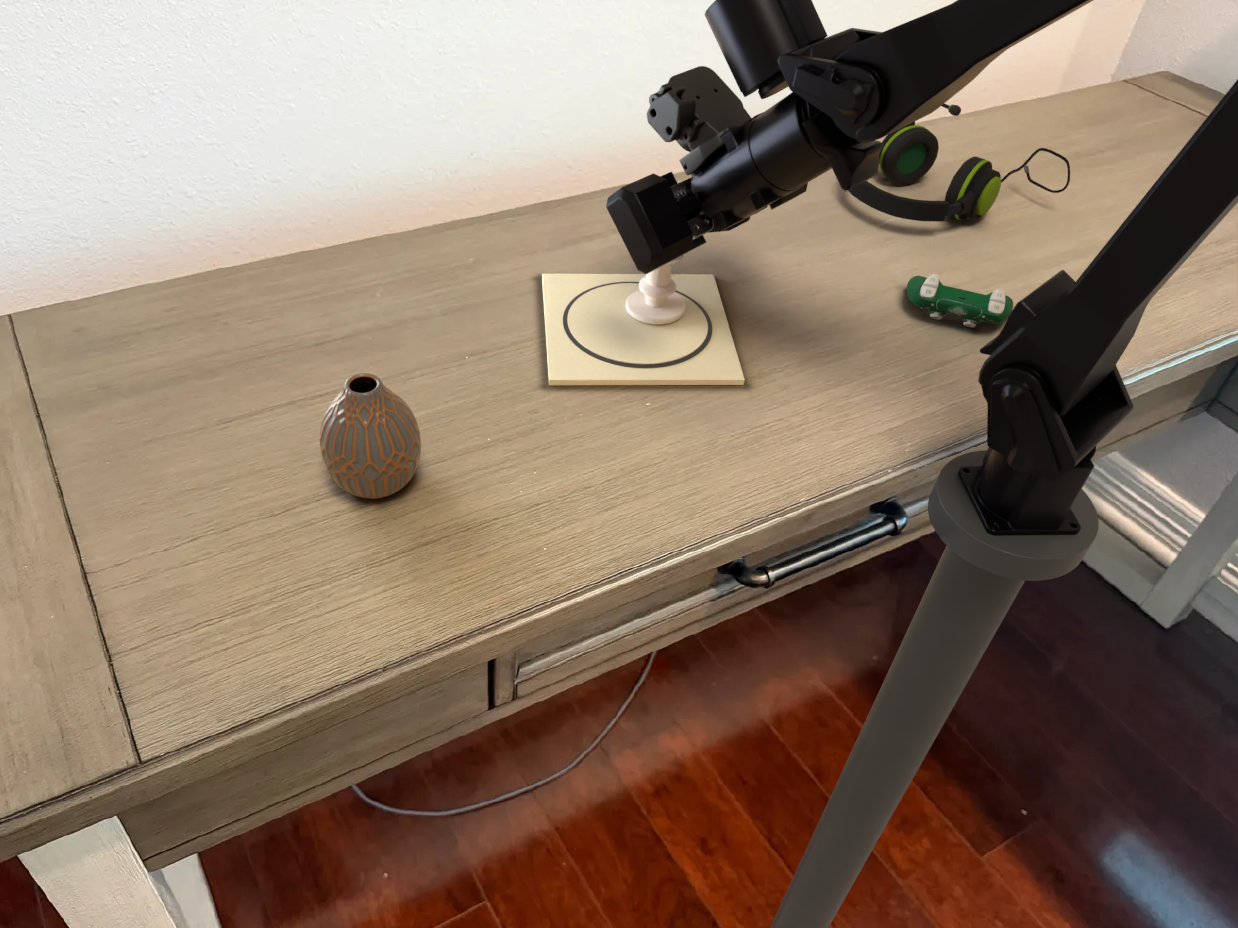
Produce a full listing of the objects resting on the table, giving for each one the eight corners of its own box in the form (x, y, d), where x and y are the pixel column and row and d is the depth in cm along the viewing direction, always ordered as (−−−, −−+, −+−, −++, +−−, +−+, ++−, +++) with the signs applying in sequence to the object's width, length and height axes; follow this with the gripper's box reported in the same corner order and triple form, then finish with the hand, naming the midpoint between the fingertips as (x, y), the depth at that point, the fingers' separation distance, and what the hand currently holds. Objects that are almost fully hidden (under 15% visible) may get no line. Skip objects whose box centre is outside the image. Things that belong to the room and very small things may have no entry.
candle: (697, 312, 86) (711, 200, 79) (651, 331, 83) (661, 218, 76) (658, 286, 89) (668, 177, 82) (613, 304, 86) (620, 193, 79)
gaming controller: (897, 316, 91) (903, 301, 86) (909, 277, 91) (916, 259, 85) (999, 341, 89) (1012, 327, 83) (1012, 301, 89) (1026, 284, 83)
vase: (310, 472, 71) (291, 375, 65) (392, 436, 74) (382, 340, 68) (356, 527, 67) (341, 430, 61) (442, 487, 70) (435, 391, 64)
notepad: (743, 385, 80) (745, 377, 80) (549, 385, 79) (549, 377, 79) (712, 279, 92) (714, 272, 91) (541, 279, 91) (542, 271, 90)
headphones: (1095, 125, 96) (953, 167, 88) (1056, 215, 103) (921, 262, 95) (970, 68, 105) (832, 102, 98) (942, 154, 112) (811, 192, 104)
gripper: (808, 15, 73) (679, 115, 86) (636, 77, 63) (521, 179, 76) (871, 154, 74) (735, 231, 87) (713, 235, 65) (587, 308, 78)
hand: (649, 234), depth 82 cm, fingers closed on candle
